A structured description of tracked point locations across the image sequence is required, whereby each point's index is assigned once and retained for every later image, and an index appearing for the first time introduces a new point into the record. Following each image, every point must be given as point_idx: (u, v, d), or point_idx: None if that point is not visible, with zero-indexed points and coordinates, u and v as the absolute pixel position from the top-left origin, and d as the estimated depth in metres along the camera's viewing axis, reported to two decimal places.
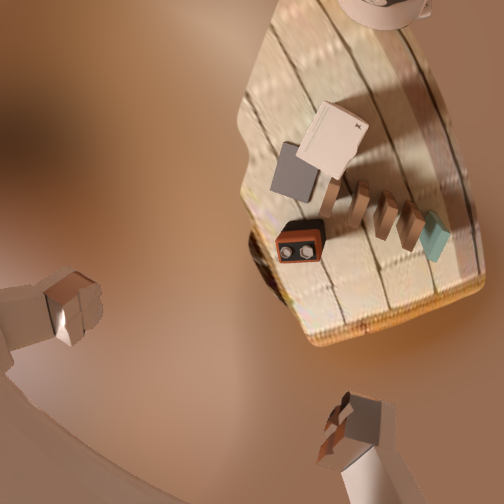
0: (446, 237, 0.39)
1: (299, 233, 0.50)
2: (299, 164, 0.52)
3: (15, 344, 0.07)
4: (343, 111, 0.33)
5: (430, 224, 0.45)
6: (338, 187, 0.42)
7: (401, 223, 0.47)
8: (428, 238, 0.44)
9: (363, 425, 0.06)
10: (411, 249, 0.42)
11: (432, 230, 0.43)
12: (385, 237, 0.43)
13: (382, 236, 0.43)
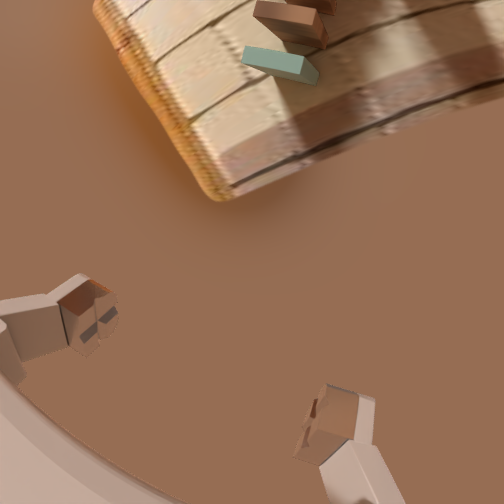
0: (291, 68, 0.21)
1: None
2: None
3: (27, 355, 0.07)
4: None
5: None
6: None
7: None
8: None
9: (338, 418, 0.07)
10: (257, 14, 0.20)
11: None
12: None
13: None
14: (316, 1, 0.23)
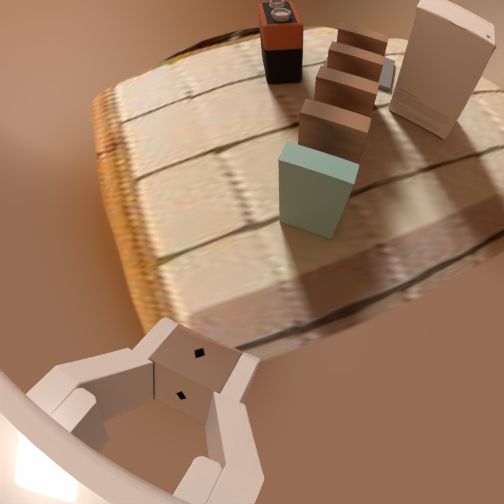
0: (344, 175, 0.19)
1: None
2: None
3: (107, 416, 0.07)
4: (494, 33, 0.17)
5: None
6: (385, 41, 0.23)
7: None
8: None
9: (210, 370, 0.07)
10: (305, 111, 0.21)
11: None
12: (322, 76, 0.22)
13: (323, 73, 0.22)
14: None
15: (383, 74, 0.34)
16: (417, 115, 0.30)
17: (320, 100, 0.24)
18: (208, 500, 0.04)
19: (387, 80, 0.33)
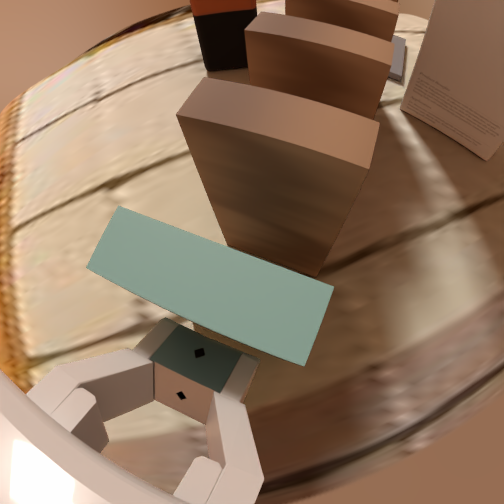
0: (273, 333, 0.06)
1: None
2: None
3: (107, 416, 0.07)
4: None
5: None
6: None
7: None
8: None
9: (210, 370, 0.07)
10: (191, 111, 0.07)
11: None
12: (259, 29, 0.09)
13: (264, 22, 0.09)
14: None
15: None
16: (447, 119, 0.17)
17: (263, 85, 0.11)
18: (208, 500, 0.04)
19: (396, 64, 0.20)
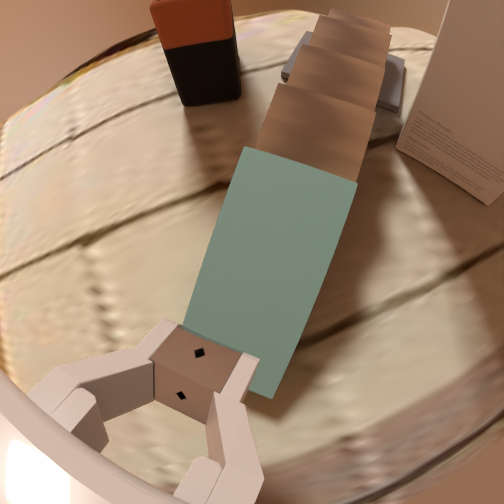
0: None
1: None
2: None
3: (106, 416, 0.07)
4: None
5: None
6: None
7: None
8: None
9: (210, 370, 0.07)
10: None
11: None
12: None
13: None
14: None
15: (386, 81, 0.20)
16: (447, 163, 0.16)
17: (298, 80, 0.15)
18: (208, 500, 0.04)
19: (393, 92, 0.19)
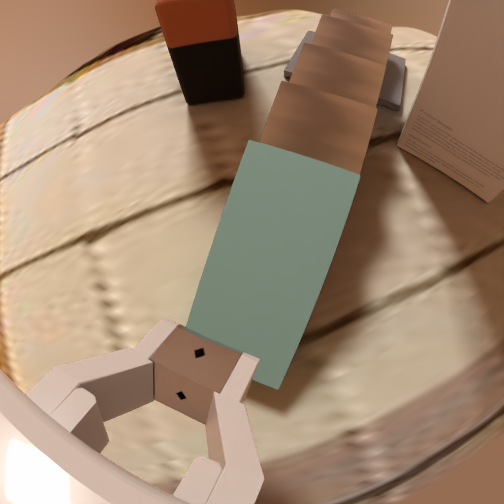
0: None
1: None
2: None
3: (106, 416, 0.07)
4: None
5: None
6: None
7: None
8: None
9: (210, 370, 0.07)
10: None
11: None
12: None
13: None
14: None
15: (388, 80, 0.20)
16: (448, 160, 0.16)
17: (300, 78, 0.15)
18: (208, 500, 0.04)
19: (395, 91, 0.20)
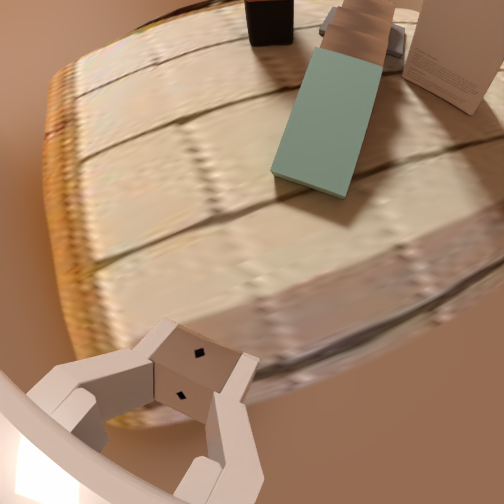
0: None
1: None
2: None
3: (106, 415, 0.07)
4: None
5: None
6: (392, 3, 0.24)
7: None
8: None
9: (210, 370, 0.07)
10: None
11: None
12: None
13: None
14: None
15: (392, 39, 0.25)
16: (438, 83, 0.22)
17: None
18: (208, 500, 0.04)
19: (398, 46, 0.25)
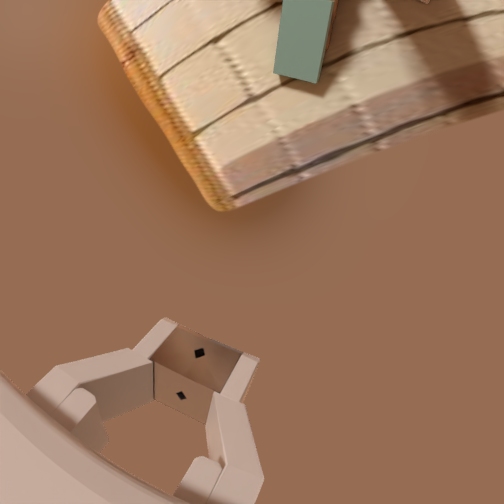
0: None
1: None
2: None
3: (107, 416, 0.07)
4: None
5: None
6: None
7: None
8: None
9: (210, 370, 0.07)
10: None
11: None
12: None
13: None
14: None
15: None
16: None
17: None
18: (208, 500, 0.04)
19: None
